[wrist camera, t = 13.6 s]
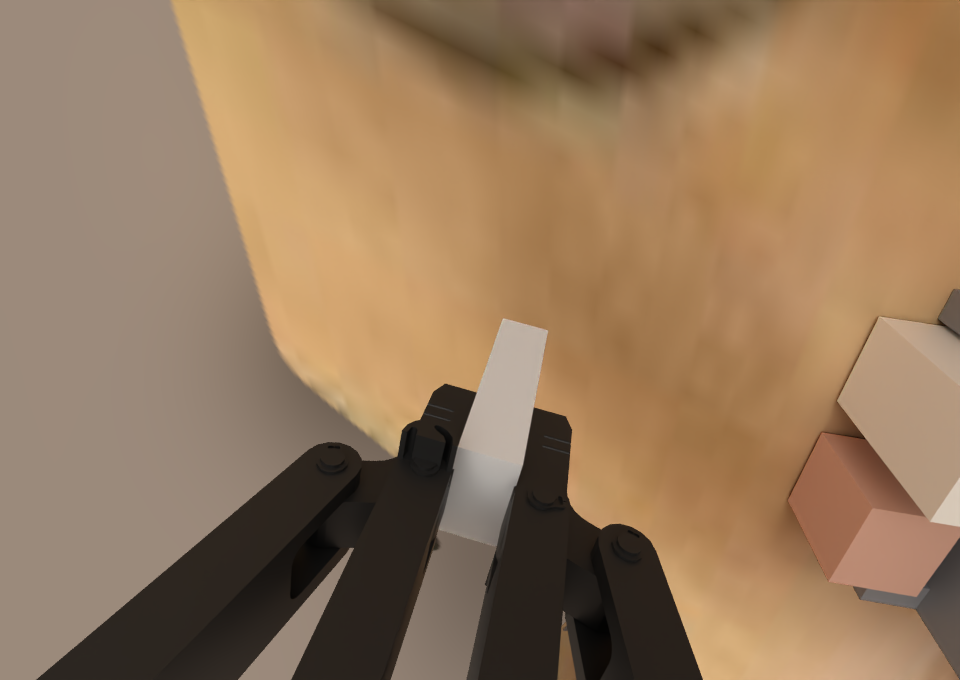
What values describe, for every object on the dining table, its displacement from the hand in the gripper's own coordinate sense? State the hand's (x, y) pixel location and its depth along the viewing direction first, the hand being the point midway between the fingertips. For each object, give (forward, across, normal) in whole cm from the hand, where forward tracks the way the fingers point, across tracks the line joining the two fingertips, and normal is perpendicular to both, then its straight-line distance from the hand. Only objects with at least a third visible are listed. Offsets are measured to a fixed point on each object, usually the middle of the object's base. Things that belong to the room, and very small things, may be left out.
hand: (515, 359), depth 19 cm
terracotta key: (+24, +27, -16) cm, 39 cm away
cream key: (+24, +26, -6) cm, 36 cm away
